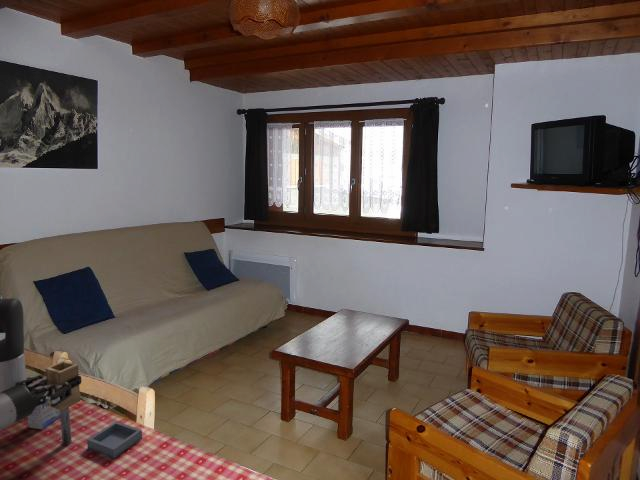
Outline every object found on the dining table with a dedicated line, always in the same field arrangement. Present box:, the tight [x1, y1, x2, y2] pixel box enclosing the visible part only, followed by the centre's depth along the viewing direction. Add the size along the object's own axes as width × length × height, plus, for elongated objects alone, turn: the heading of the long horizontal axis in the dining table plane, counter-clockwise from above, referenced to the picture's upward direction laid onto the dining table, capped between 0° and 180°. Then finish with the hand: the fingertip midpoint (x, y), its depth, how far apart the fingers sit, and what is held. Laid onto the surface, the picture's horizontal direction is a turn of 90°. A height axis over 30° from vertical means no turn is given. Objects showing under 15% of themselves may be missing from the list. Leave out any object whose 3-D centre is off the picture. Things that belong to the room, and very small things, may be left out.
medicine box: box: [27, 403, 60, 430], centre depth 123 cm, size 8×4×9 cm, turn 168°
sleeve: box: [45, 359, 81, 411], centre depth 112 cm, size 5×5×10 cm
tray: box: [86, 421, 143, 460], centre depth 115 cm, size 9×9×2 cm
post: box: [59, 407, 72, 446], centre depth 114 cm, size 2×2×16 cm
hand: (72, 376), depth 115 cm, fingers closed on sleeve, 5 cm apart
